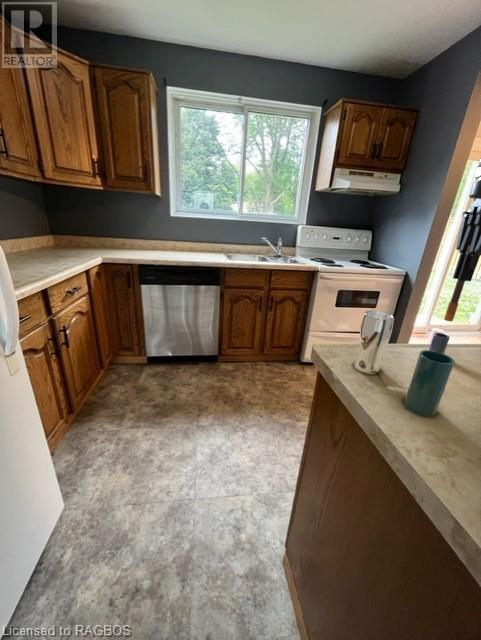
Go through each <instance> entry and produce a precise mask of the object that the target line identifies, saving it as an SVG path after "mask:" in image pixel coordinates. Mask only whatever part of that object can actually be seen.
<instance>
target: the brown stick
mask: <svg viewBox="0 0 481 640" xmlns="http://www.w3.org/2000/svg"><path fill="white" fill-rule="evenodd" d="M470 247H471V245H469V246H468V249H467V252H469V251H470ZM464 259H465V258H464ZM456 280H457V281H456V283H455V287H454V290H453V293H452V296H451V298H450V299H451V300H450V301H449V302H448V305H447V309H446V311H445V315H444V318H443V320H444V321H446V322H453V321H454V318H455V316H456V313H457V311H458V307H459V301H460V299H461V294H462V291H463V289H464V285H465V283H466V281H459V280H458V279H456Z"/></svg>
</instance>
